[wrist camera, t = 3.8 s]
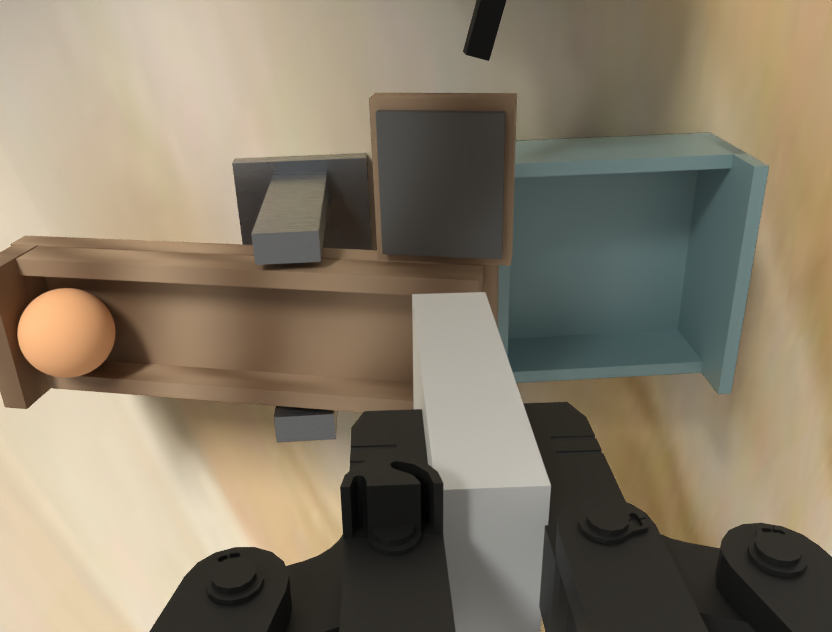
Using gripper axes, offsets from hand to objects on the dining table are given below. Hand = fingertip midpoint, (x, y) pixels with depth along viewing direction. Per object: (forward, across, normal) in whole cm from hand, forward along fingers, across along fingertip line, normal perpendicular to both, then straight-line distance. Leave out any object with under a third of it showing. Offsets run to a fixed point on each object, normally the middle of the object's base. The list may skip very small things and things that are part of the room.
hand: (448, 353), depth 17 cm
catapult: (+16, -6, -3) cm, 17 cm away
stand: (+22, -5, -6) cm, 23 cm away
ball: (+15, -14, -6) cm, 21 cm away
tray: (+22, +9, -6) cm, 24 cm away
